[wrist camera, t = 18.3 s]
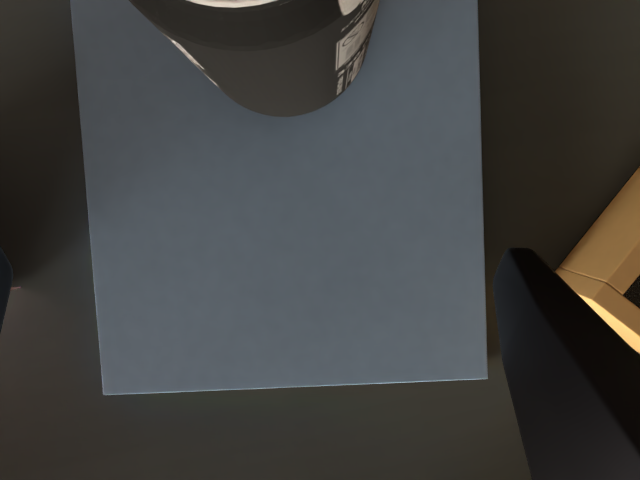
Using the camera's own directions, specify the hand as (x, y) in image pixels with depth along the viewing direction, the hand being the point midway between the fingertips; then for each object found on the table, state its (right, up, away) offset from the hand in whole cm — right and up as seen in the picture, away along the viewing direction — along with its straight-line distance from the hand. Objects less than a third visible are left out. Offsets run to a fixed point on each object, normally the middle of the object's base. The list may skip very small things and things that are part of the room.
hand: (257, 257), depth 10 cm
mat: (0, +4, +13) cm, 14 cm away
